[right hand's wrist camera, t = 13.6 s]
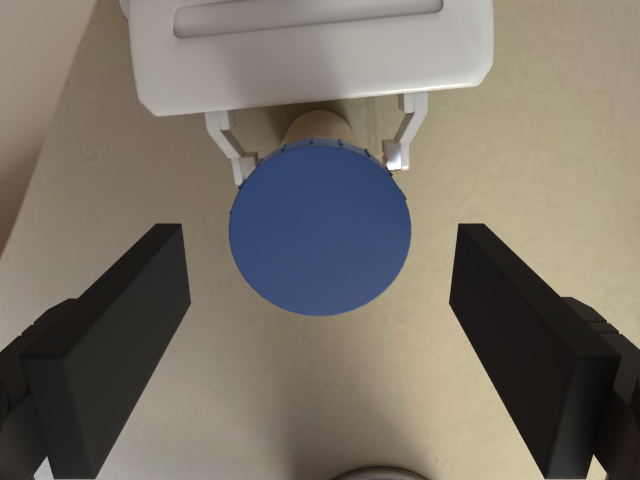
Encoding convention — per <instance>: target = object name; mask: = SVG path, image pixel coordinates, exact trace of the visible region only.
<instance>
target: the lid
mask: <svg viewBox="0 0 640 480" xmlns="http://www.w3.org/2000/svg"><path fill="white" fill-rule="evenodd" d="M392 175H393V174H392V173H391V171H390V170H389V168H388V167H387V166H386V167H384V166H383V165H382V164H381V163H380V162H379V161H378V160H377V159H376V158H375V157H373V156H372V155H371V154H370V153H369V151H368V149H366V148H365V150H363V149H362V148H359V147H357V146H355V145H353V144H351V143H347V142H344V141H342V138H339V140H335V139H329V138H313V136H310V139H304V140H300V141H296V142H292V143H290V144H287V145H286V143H284V144H283V145H282V147H281V148H279V149H277V150H275V151H273V152H272V153H271V154H269V155H268V156H267V157H265V158H264V159H263V158H261V159H260V160H259V161H258V163H257V164H256V167H255V168H254V170H253V171H252V172H251V173H250V175H249V176H248V178H247V179H244V180H243V182H242V183H241V185H240V186H239V188H238V189H240V191H239V193H238V194H237V196H236V199H235V201H234V204H233V206H232V210H231V212H230V221H229V241H230V246H231V251H232V254H233V257H234V260H235V262H236V264H237V267H238V269H239V271H240V272H241V274H242V275H243V277H244V278H245V280H246V281H247V282H248V283H249V284H250V286H251V287H252V288H253V289H254V290H255V291H256V292H257V293H259V294H260V295H261V296H262V297H263V298H265V299H266V300H268V301H269V302H271V303H273V304H275V305H276V306H278V307H280V308H283V309H285V310H288V311H291V312H294V313H298V314H303V315H310V316H329V315H337V314H342V313H346V312H349V311H352V310H355V309H357V308H359V307H362V306H364V305H366V304H367V303H369V302H371V301H372V300H374V299H375V298H377V297H378V296H379V295H380V294H382V293H383V292H384V291H385V290H386V289H387V288H388V287H389V286H390V285H391V284H392V282H393V281H394V280H395V278H396V277H397V276H398V274H399V272H400V270H401V269H402V267H403V265H404V262H405V260H406V257H407V254H408V250H409V246H410V240H411V221H410V215H409V210H408V207H407V204H406V201H405V200H407V199H406V197H405V195H404V194H403V192H402V191H401V189H399V187H398V186H397V184H396V183H395V181H394V180H393V178H392V177H391V176H392Z"/></svg>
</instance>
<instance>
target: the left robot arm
mask: <svg viewBox="0 0 640 480" xmlns="http://www.w3.org/2000/svg"><path fill="white" fill-rule="evenodd" d="M119 4H120V7H121V10H122V12H123V15H124V16H125V18H126V19H127V21H128V28H129V42H130V52H131V61H132V68H133V75H134V81H135V87H136V92H137V96H138V99H139V101H140V102H141V104H143V105H144V106H145V107H146V108H147V109H148V110H149V111H150V112H151V113H152V114H153V115H155V116H158V117H160V116H171V115H181V114H192V113H202V112H204V116H205V121H206V127H207V132H208V134H209V135H210V136H211V137H212V139H213V140H214V141H215V142H216V143H217V145H218V146H219V147H220V148H221V150H222V151H223V152H224V153H225V155H226V156H227V157H228V158H231V164H232V170H233V175H234V181H235V184H236V185H241V183H242V182H243V180H244V179H247V178H248V176H249V175H250V173H251V172H252V171H253V170H254V168H255V167H256V164H257V163H258V161H259V156H258V152H245V151H244V149H243V148H242V146H241V145H240V144H239V142H238V141H237V140H236V138H235V137H234V135H233V134H232V133H231V131H230V130H229V129H230V128H232V127H233V126H235V124H236V120H235V113H234V109H244V108H255V107H265V106H276V105H286V104H296V103H307V102H317V101H328V100H338V99H349V98H359V97H370V96H380V95H391V94H398V108H399V109H400V110H401V111H403V112H405V113H406V115H405V117H404V119H403V121H402V123H401V125H400V127H399V129H398V131H397V133H396V135H395V137H394V139H388V140H382V151H383V153H384V155H383V157H382V162H383V166H384V167H386V166H387V167H388V168H389V170H390V171H402V170H409V165H410V161H409V142H411V141H412V139H413V138H414V136H415V134H416V132H417V130H418V129H419V127H420V125H421V123H422V121H423V119H424V118H425V116H426V114H427V112H428V91H433V90H443V89H453V88H464V87H474V86H477V85H479V84H480V83H481V82H482V80H483V79H484V78H485V76H486V75H487V73H488V72H489V70H490V69H491V67H492V64H493V58H494V6H493V0H119Z"/></svg>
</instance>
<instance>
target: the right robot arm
mask: <svg viewBox="0 0 640 480" xmlns="http://www.w3.org/2000/svg"><path fill="white" fill-rule="evenodd" d="M190 304H191V299H190V291H189V283H188V274H187V266H186V258H185V249H184V241H183V233H182V224H155V225H154V226H153V227H152V228H151V229H150V230H149V231H148V232H147V233H146V234H145V235H144V236H143V237H142V238H141V239H140V240H138V241H137V242H136V243H135V244H134V245H133V246H132V247H131V248H130V249H129V250H128V251H127V252H126V253H125V254H124V255H123V256H122V257H121V258H120V259H119V260H118V261H117V262H115V263H114V264H113V265H112V266H111V267H110V268H109V269H108V270H107V271H106V272H105V273H104V274H103V275H102V276H101V277H100V278H99V279H98V280H97V281H96V282H95V283H93V284H92V285H91V286H90V287H89V288H88V289H87V290H86V291H85V292H84V293H83V294H82V295H81V296H80V297H79V298H78V299H67V300H65V301H63V302H61V303H59V304H58V305H56V306H54V307H52V308H50V309H48V310H47V311H46V312H45V313H44V314H42V315H41V316H40V317H39V318H38V319H37V320H36V321H35V322H34V324H33V325H30V326H29V327H28V328H27V329H26V330H24V331H23V332H22V335H21V336H18V337H17V338H16V339H14V340H13V341H12V342H11V343H10V344H9V345H8V346H7V347H5V348H4V349H3V350H2V351H1V352H0V480H35V478H34V474H35V472H36V471H37V469H38V468H39V467H40V465H41V464H42V462H43V461H44V459H45V458H46V457H48V460H49V464H50V467H51V471H52V474H53V477H54V479H95V478H96V477H97V475H98V473H99V471H100V469H101V467H102V466H103V464H104V462H105V460H106V458H107V456H108V455H109V453H110V451H111V449H112V447H113V445H114V444H115V442H116V440H117V438H118V436H119V434H120V433H121V431H122V429H123V427H124V425H125V423H126V422H127V420H128V418H129V416H130V414H131V412H132V411H133V409H134V407H135V405H136V403H137V401H138V400H139V398H140V396H141V394H142V392H143V390H144V389H145V387H146V385H147V383H148V381H149V379H150V378H151V376H152V374H153V372H154V370H155V368H156V367H157V365H158V363H159V361H160V359H161V357H162V356H163V354H164V352H165V350H166V348H167V346H168V345H169V343H170V341H171V339H172V337H173V335H174V334H175V332H176V330H177V328H178V326H179V324H180V323H181V321H182V319H183V317H184V315H185V313H186V312H187V310H188V308H189V306H190ZM449 304H450V306H451V308H452V310H453V312H454V313H455V315H456V317H457V319H458V321H459V323H460V324H461V326H462V328H463V330H464V332H465V334H466V335H467V337H468V339H469V341H470V343H471V345H472V346H473V348H474V350H475V352H476V354H477V356H478V357H479V359H480V361H481V363H482V365H483V367H484V368H485V370H486V372H487V374H488V376H489V378H490V379H491V381H492V383H493V385H494V387H495V389H496V390H497V392H498V394H499V396H500V398H501V400H502V401H503V403H504V405H505V407H506V409H507V411H508V412H509V414H510V416H511V418H512V420H513V422H514V423H515V425H516V427H517V429H518V431H519V433H520V434H521V436H522V438H523V440H524V442H525V444H526V445H527V447H528V449H529V451H530V453H531V455H532V456H533V458H534V460H535V462H536V464H537V466H538V467H539V469H540V471H541V473H542V475H543V477H544V478H545V479H586V477H587V474H588V471H589V467H590V464H591V460H592V457H593V454H594V456H595V457H596V458H597V460H598V461H599V463H600V464H601V465H602V467H603V468H604V470H605V471H606V473H607V475H606V478H605V480H640V350H639V349H638V348H637V347H636V346H635V345H634V344H633V343H631V342H630V341H629V340H628V339H627V338H626V337H625V336H624V335H622V334H619V331H618V330H617V329H616V328H615V327H613V326H612V325H611V324H610V323H607V320H605V319H604V318H603V317H602V316H601V315H600V314H599V313H598V312H596V311H595V310H594V309H593V308H592V307H590V306H588V305H586V304H584V303H582V302H580V301H578V300H576V299H574V298H572V297H560V296H559V295H558V294H557V293H556V292H555V291H554V290H553V289H552V288H551V287H550V286H549V285H548V284H547V283H545V282H544V281H543V280H542V279H541V278H540V277H539V276H538V275H537V274H536V273H535V272H534V271H533V270H532V269H531V268H530V267H529V266H528V265H527V264H526V263H525V262H523V261H522V260H521V259H520V258H519V257H518V256H517V255H516V254H515V253H514V252H513V251H512V250H511V249H510V248H509V247H508V246H507V245H506V244H505V243H504V242H503V241H502V240H500V239H499V238H498V237H497V236H496V235H495V234H494V233H493V232H492V231H491V230H490V229H489V228H488V227H487V226H486V225H485V224H458V233H457V241H456V249H455V258H454V266H453V274H452V283H451V291H450V299H449ZM334 480H426V479H424V478H423V477H421V476H419V475H417V474H414V473H412V472H408V471H405V470H401V469H395V468H385V467H377V468H367V469H361V470H356V471H353V472H350V473H347V474H344V475H342V476H340V477H338V478H336V479H334Z"/></svg>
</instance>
